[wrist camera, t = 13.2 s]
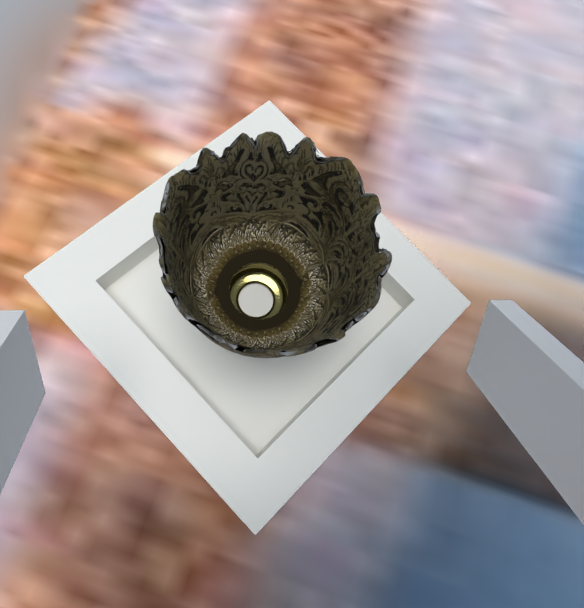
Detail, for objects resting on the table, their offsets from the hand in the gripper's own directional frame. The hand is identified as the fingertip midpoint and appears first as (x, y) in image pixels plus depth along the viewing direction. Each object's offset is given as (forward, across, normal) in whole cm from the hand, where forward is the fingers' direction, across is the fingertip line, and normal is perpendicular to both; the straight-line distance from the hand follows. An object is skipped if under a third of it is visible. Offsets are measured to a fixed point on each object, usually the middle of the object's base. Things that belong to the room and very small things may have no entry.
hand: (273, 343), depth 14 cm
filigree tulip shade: (+8, 0, -3) cm, 9 cm away
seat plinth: (+10, 0, -4) cm, 11 cm away
